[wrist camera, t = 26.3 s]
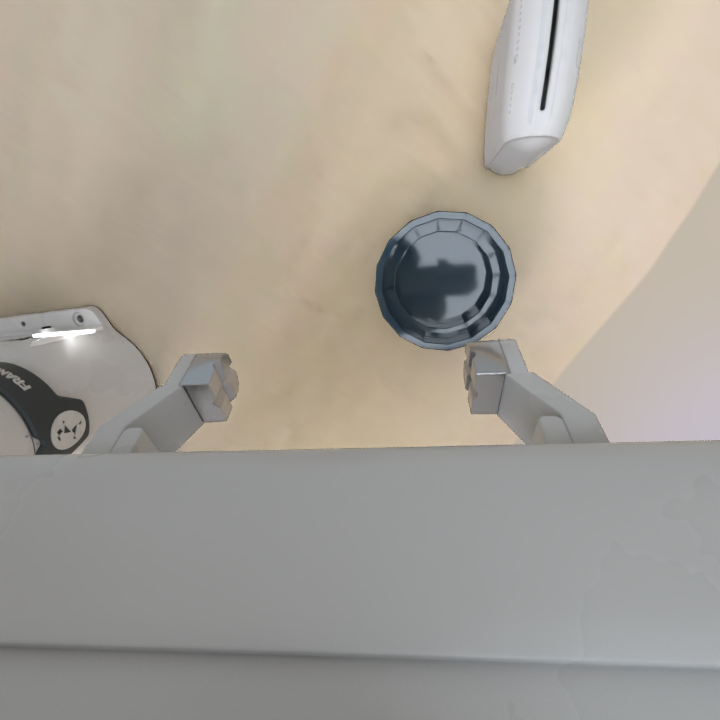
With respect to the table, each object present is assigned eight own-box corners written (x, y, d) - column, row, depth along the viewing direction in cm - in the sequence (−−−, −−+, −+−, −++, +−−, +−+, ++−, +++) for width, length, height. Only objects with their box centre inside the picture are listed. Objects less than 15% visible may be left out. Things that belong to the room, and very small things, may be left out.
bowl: (378, 331, 41) (371, 343, 36) (387, 211, 37) (380, 208, 33) (493, 342, 39) (502, 356, 35) (514, 218, 36) (527, 215, 31)
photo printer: (490, 38, 32) (524, -75, 21) (546, 34, 32) (614, -85, 20) (478, 176, 35) (501, 145, 24) (529, 175, 35) (578, 143, 23)
